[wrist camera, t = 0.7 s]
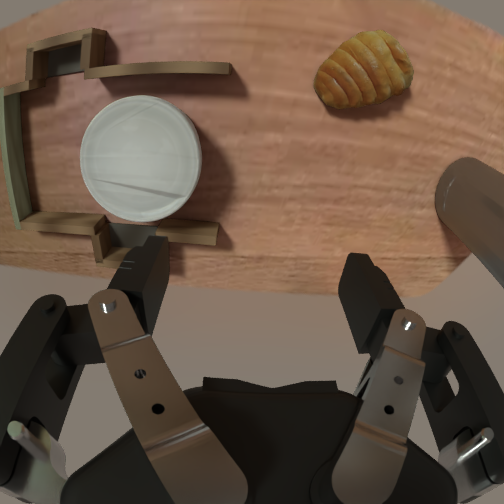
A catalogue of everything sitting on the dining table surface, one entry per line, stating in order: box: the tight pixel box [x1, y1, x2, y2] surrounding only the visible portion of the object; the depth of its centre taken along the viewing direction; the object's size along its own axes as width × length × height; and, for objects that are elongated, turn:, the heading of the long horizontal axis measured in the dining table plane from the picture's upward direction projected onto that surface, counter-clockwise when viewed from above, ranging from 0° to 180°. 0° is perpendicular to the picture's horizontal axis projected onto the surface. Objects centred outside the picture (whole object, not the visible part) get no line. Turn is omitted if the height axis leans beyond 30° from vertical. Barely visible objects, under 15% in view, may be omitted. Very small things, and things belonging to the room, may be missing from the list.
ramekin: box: [80, 95, 202, 222], centre depth 25 cm, size 11×11×5 cm
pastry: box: [314, 30, 414, 109], centre depth 22 cm, size 9×7×4 cm
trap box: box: [0, 28, 232, 269], centre depth 26 cm, size 25×25×3 cm
